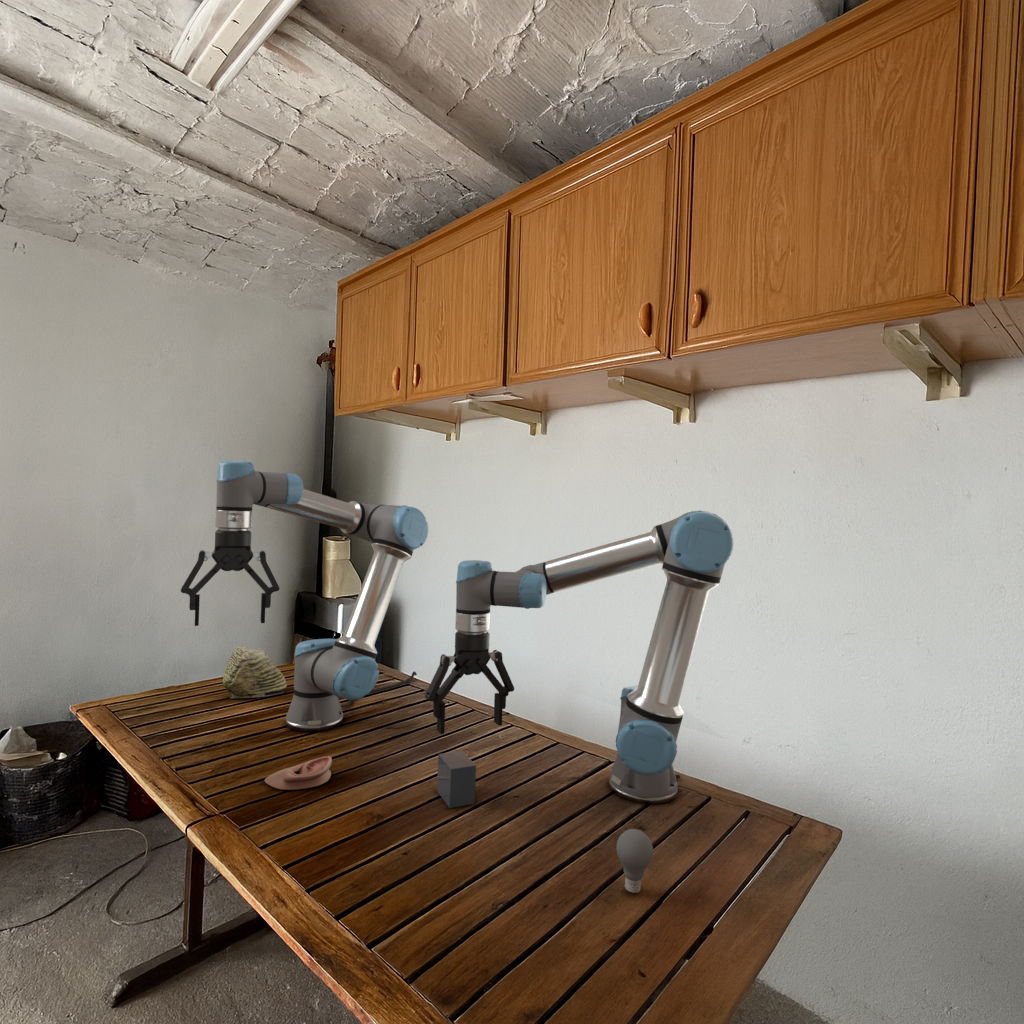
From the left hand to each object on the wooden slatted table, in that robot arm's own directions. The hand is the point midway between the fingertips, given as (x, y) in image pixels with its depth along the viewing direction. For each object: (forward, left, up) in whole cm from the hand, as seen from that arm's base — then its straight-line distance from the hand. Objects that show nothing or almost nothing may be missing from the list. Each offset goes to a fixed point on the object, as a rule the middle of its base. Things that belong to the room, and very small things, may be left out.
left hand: (230, 623), depth 143 cm
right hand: (-31, +46, -20) cm, 59 cm away
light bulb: (-24, +90, -34) cm, 99 cm away
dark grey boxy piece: (-27, +46, -34) cm, 63 cm away
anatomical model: (-9, +15, -34) cm, 38 cm away
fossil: (-33, -46, -34) cm, 66 cm away
